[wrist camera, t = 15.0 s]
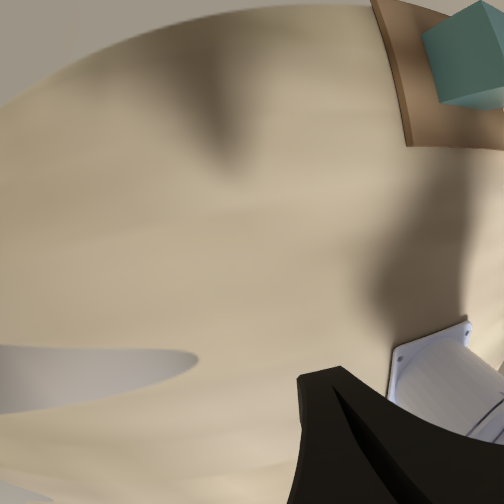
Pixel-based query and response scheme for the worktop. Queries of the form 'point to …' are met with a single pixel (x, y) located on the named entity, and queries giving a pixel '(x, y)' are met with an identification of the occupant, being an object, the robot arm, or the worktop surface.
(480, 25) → the teal rectangular block
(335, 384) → the robot arm
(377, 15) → the post board
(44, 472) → the worktop surface
